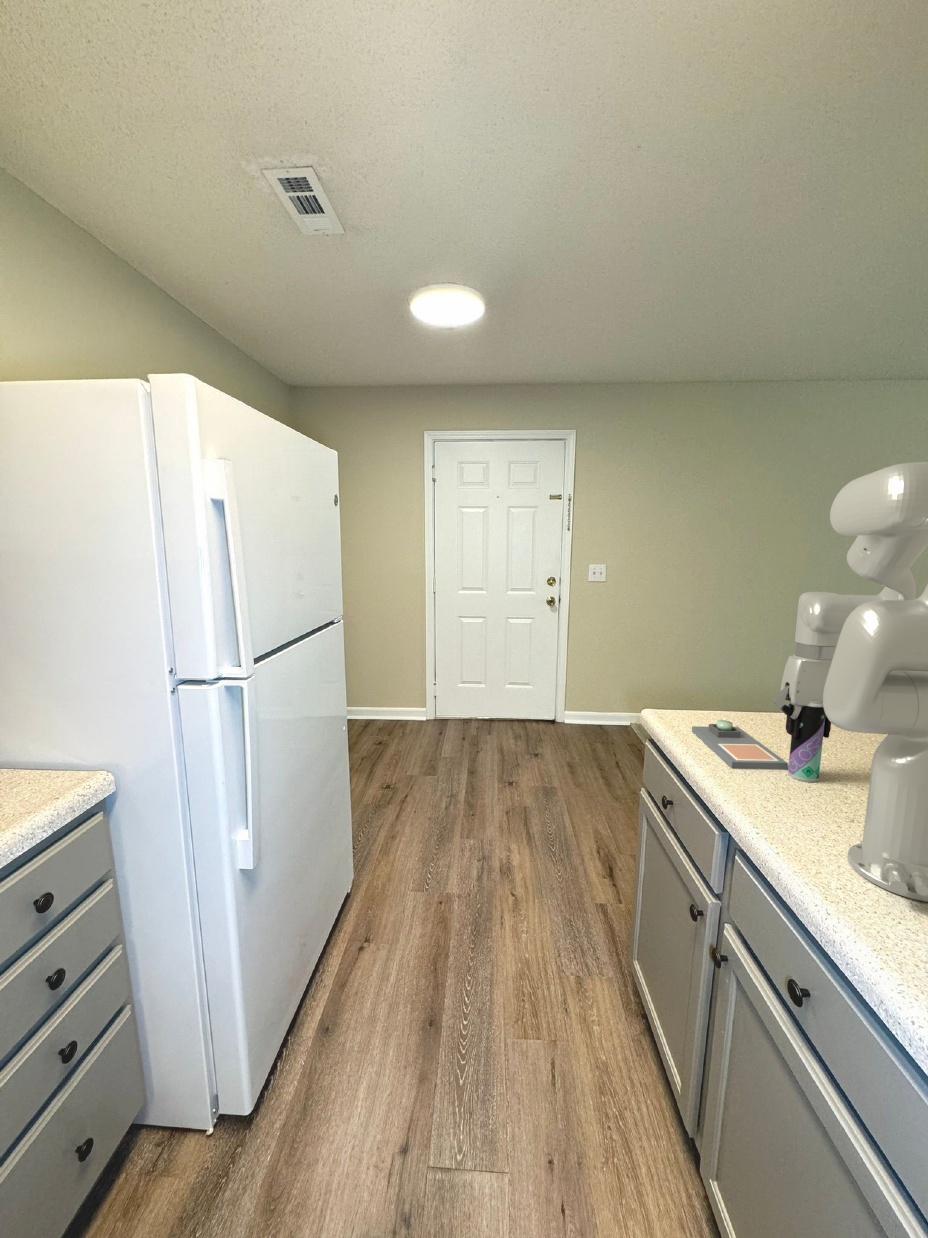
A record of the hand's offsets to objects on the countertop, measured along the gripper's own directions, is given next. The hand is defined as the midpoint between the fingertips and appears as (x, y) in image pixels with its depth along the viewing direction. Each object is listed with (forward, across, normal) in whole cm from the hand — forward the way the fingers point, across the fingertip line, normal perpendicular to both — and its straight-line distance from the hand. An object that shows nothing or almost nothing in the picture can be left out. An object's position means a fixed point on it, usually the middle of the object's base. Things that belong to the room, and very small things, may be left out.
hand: (807, 734), depth 104 cm
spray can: (+10, 0, 0) cm, 10 cm away
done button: (+7, +7, -20) cm, 23 cm away
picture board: (+9, +7, -14) cm, 19 cm away
